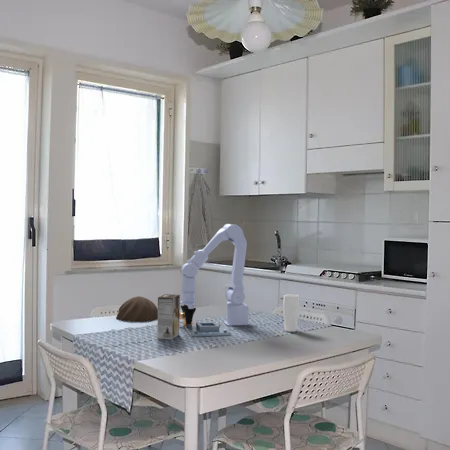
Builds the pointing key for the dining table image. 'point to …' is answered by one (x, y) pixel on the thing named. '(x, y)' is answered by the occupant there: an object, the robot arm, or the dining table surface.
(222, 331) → the flange plate
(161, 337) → the coffee box
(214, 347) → the dining table surface
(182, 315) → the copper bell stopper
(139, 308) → the decorative dome
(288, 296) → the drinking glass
